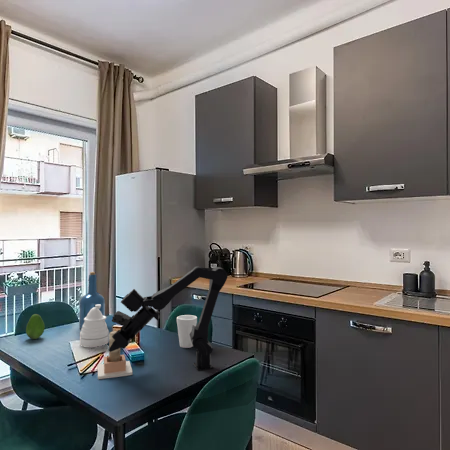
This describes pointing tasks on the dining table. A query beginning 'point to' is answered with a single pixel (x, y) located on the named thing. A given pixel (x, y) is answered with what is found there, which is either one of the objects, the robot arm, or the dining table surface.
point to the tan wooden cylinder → (114, 354)
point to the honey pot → (94, 329)
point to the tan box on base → (114, 368)
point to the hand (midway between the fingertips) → (111, 348)
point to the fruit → (35, 327)
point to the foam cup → (185, 329)
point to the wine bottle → (90, 300)
